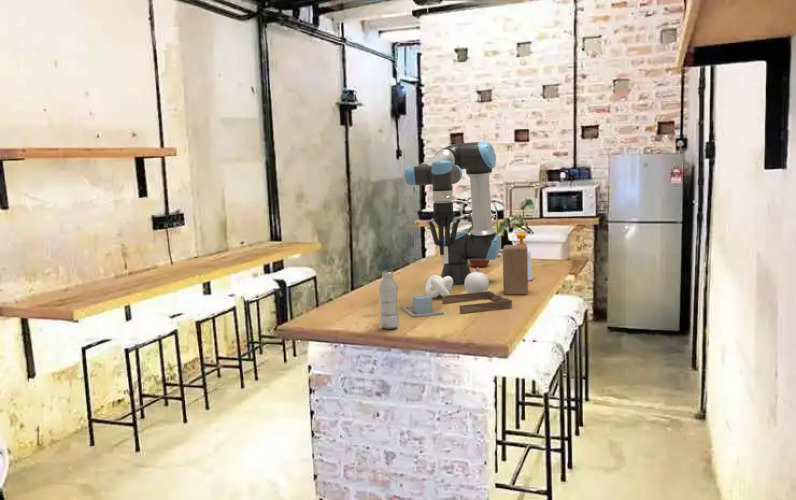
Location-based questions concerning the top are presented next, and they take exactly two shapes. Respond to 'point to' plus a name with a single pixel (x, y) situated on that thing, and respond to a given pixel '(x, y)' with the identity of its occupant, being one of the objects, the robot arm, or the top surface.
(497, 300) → the brown flat u-shaped frame
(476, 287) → the ornament
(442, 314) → the corral
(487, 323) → the top surface
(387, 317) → the plastic bottle
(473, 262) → the potted plant
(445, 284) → the white lobed knot
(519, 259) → the wooden block
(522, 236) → the soap bottle
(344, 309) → the top surface
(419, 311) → the cube
